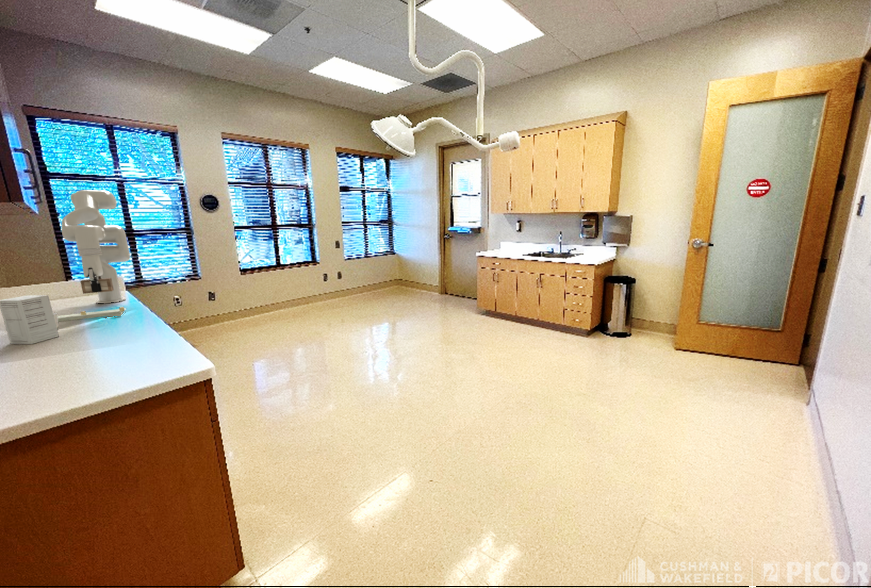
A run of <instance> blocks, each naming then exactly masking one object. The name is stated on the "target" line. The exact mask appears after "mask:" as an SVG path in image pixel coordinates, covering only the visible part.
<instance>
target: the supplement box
mask: <svg viewBox="0 0 871 588" xmlns="http://www.w3.org/2000/svg"><path fill="white" fill-rule="evenodd" d="M53 313H54V312H53V307H52V305H51V300H50V295H48V294H47V295H46V294H42V295H41V294H40V295H39V294H38V295H34V294H33V295H31V294H29V295H21V296H16V297H9V298H5V299H0V314H1V315H2V319H3V323H4V326H5V330H6V333H7V337H8V340H9V344H11V345H14V344H15V345H32V344H36V343H41V342H43V341H48V340H51V339H55V338H57V337H58V336H60V334H59V330H57V329H58V327H57V326H56V323H55V319H54V315H53Z"/></svg>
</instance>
